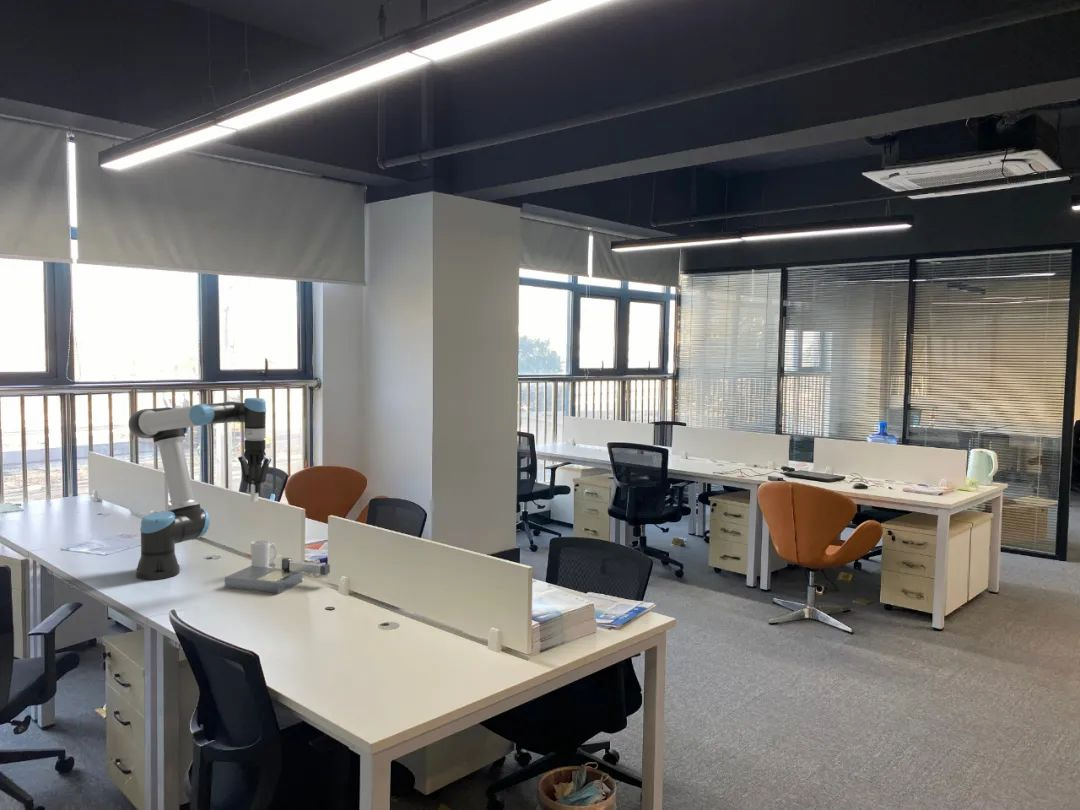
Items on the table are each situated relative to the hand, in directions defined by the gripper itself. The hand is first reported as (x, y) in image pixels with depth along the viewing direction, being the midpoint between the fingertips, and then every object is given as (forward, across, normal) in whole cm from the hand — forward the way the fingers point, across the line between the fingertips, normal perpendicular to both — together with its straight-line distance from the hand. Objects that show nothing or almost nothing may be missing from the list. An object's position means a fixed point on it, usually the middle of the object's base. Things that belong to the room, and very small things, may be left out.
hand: (254, 501), depth 292 cm
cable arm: (+26, +20, +3) cm, 33 cm away
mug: (+31, -3, +11) cm, 33 cm away
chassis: (+30, +7, -4) cm, 31 cm away
